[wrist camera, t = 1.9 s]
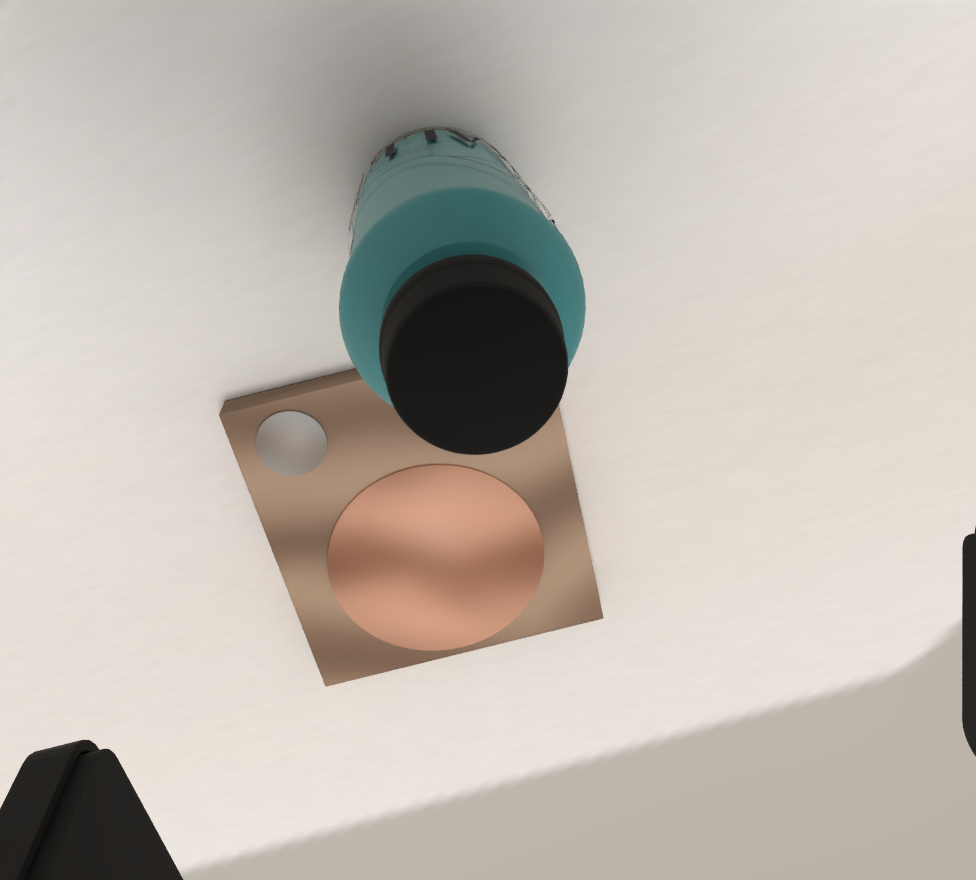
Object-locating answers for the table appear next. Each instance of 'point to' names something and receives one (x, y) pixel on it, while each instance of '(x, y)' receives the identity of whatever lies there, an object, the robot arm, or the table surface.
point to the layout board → (408, 529)
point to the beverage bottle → (459, 295)
